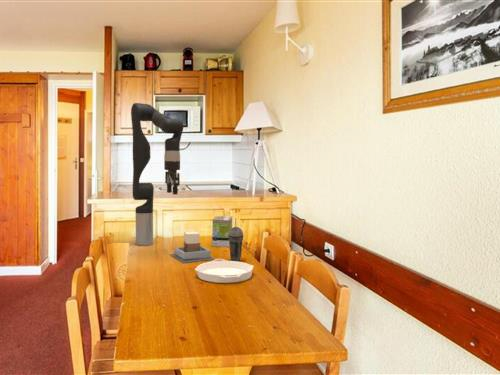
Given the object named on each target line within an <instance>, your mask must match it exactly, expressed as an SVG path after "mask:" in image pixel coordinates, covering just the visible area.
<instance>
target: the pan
mask: <svg viewBox="0 0 500 375" xmlns="http://www.w3.org/2000/svg"><path fill="white" fill-rule="evenodd" d="M254 267H255V266H254V265H252V264H249V263H246V262H242V261H231V260H226V259H224V258H223V259H222V258H215V260H211V261H209V262H207V261H206V262H204V263H201V264H198V265H197V267H195V268H194V271H195V272H196V273H197V277H198V279H199V280H201V281H204V282H206V283H207V282H208V283H215V284H236V283H242V282H245V281H247V280H249V279H251V277H252V274H253V269H254Z"/></svg>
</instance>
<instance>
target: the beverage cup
mask: <svg viewBox="0 0 500 375" xmlns="http://www.w3.org/2000/svg"><path fill="white" fill-rule="evenodd" d="M234 220H235V222H234V223H235V224H234V227H233V226H232V229H231V230H230V231H229V234H228V237H229V244H230V247H229V255H230V256H229V257H230V261H237V262H241V257H242V249H243V241H244V236H245V235H244V231H243V230H242V229H241V228H240V227H238V226H237V218H236V217H235V218H234Z"/></svg>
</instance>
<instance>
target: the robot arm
mask: <svg viewBox="0 0 500 375" xmlns="http://www.w3.org/2000/svg"><path fill="white" fill-rule="evenodd" d="M130 119H131V128H132V129H131V131H132V166H133V168H132V170H133V172H132V191H131V192H132V193H131V194H132V198H133V200H135V201H145V202H144V203H143V204H141V205H138V206H136V207H135V210H134V211H135V245H136V246H152V245H154V192H155V191H154V184H153V183H152V182H140V178H141V175H142V173H143V172H144V170H145V168H146V167H147V165H148V164H149V163H150V160H151V144H150V142H149V140H148V138H147V137H146V136H145V134H144V132H143V130H142V124H141V122H151V123H152V124H153V125H154V126H156V127H157V128H159V130H161V132H163V133H165V134H172V137H169V138H166V139H165V140H164V154H163V155H164V157H163V158H164V167H163V168H164V170H165V172H164V173H165V175H164V180H165V181H164V183H165V185H166V193H167V194H168V193H169V194H170V193H172V195H178V187H179V186H180V185H181V184H180V180H181V179H180V173H179V172H177V171H180V170H181V152H180V147H181V146H180V142H181V140H182V139H181V138H182V136H183V135H182V134H183V131H184V122H183V121H182V120H181V119H179V118H171V117H169V116H168V115H166V114H164V113H162V112H160V111H158V110H157V109H156V108H155V107H154V106H153V105H151V104H148V103H140V102H134V103H132V105H131V110H130Z"/></svg>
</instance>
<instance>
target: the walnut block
mask: <svg viewBox="0 0 500 375" xmlns="http://www.w3.org/2000/svg"><path fill="white" fill-rule="evenodd" d="M200 246H201V242H199V243H193V244H186V243H185V242H184V241H183V247H184V252H185V253H187V252H197V251H200Z"/></svg>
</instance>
